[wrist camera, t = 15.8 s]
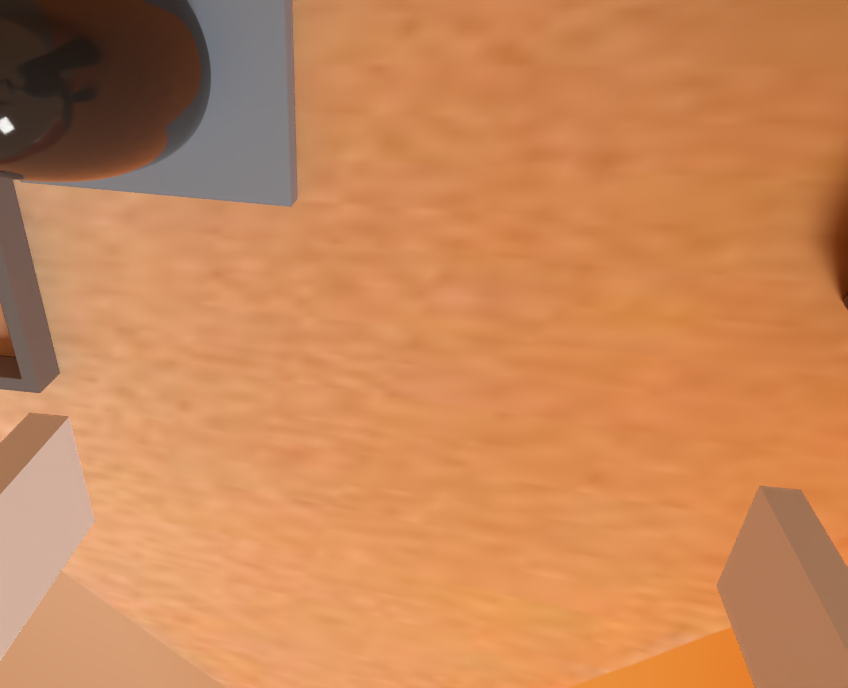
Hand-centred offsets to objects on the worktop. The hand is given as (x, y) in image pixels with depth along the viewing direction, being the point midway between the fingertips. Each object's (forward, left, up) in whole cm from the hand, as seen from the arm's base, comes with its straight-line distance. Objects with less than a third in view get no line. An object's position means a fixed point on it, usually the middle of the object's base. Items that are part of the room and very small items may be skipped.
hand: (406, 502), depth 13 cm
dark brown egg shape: (-4, -17, -27) cm, 32 cm away
